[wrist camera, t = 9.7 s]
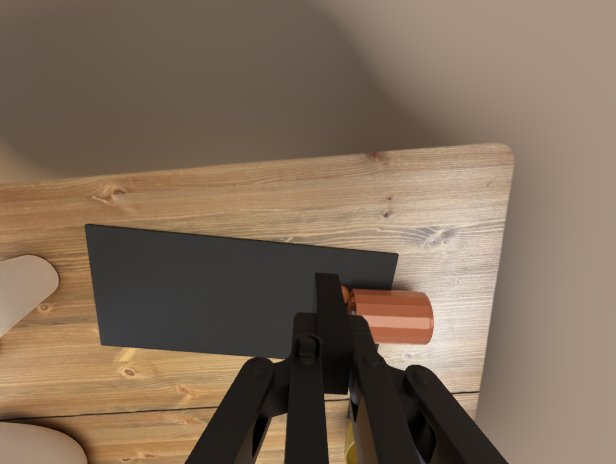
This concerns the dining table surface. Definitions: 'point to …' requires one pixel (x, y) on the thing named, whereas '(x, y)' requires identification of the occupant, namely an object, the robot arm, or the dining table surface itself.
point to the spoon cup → (395, 315)
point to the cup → (23, 287)
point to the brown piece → (347, 294)
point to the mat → (214, 288)
